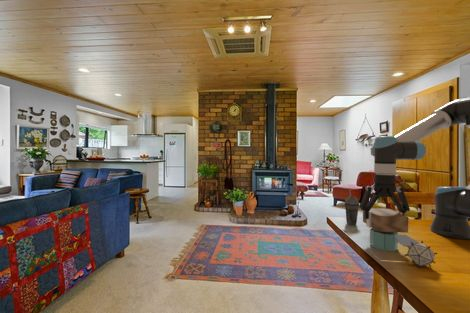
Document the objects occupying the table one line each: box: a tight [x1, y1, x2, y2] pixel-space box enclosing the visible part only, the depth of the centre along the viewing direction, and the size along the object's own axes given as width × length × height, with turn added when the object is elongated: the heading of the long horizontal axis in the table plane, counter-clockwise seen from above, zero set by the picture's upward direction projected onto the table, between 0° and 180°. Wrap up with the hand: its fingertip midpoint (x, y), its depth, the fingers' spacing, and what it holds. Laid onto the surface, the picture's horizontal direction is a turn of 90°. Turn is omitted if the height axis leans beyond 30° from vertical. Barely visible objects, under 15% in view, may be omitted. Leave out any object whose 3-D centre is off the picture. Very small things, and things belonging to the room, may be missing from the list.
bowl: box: [369, 227, 399, 252], centre depth 96 cm, size 9×9×7 cm
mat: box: [398, 233, 420, 248], centre depth 104 cm, size 9×15×1 cm, turn 174°
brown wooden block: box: [362, 207, 409, 233], centre depth 96 cm, size 11×13×6 cm
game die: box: [404, 240, 438, 269], centre depth 81 cm, size 9×8×10 cm
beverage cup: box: [344, 188, 360, 227], centre depth 126 cm, size 7×7×20 cm
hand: (383, 227), depth 96 cm, fingers closed on brown wooden block, 11 cm apart
